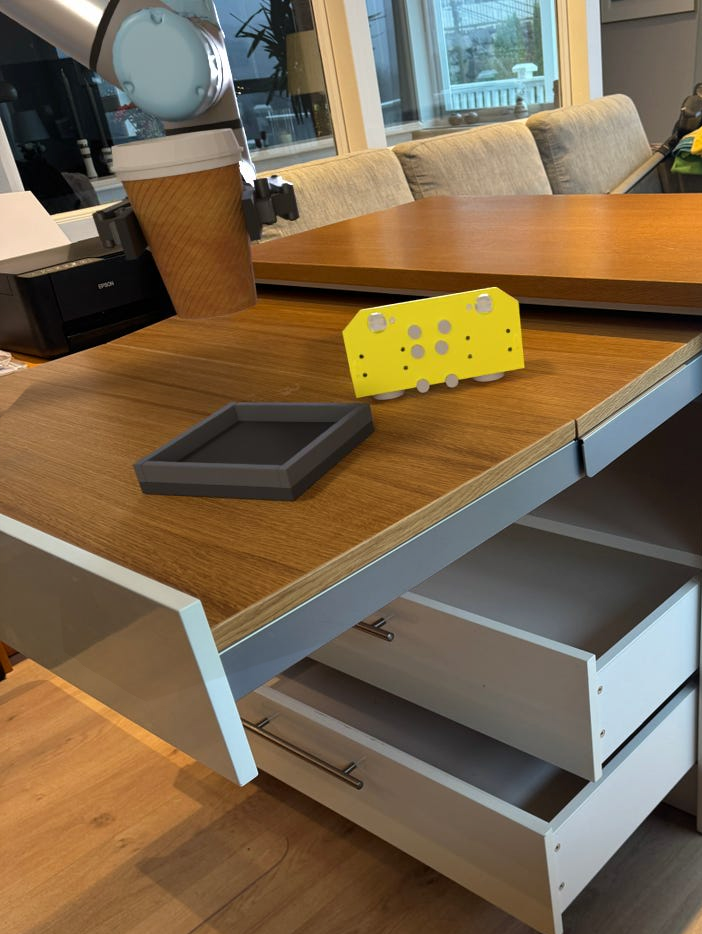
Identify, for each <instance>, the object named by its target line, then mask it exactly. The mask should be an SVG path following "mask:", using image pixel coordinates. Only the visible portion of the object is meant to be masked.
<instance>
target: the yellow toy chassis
mask: <svg viewBox="0 0 702 934" xmlns="http://www.w3.org/2000/svg"><path fill="white" fill-rule="evenodd" d="M520 315H521V314H520V304H519V300H517V299H515V298H514V297H512V296H511V295H509V294H508V293H506V292H505V291H504V290H502V289H500V288H499V287H497V286H493V287H486V288H481V289H476V290H470V291H464V292H458V293H451V294H446V295H445V294H444V295H439V296H435V297H428V298H422V299H416V300H415V299H414V300H410V301H404V302H398V303H393V304H387V305H380V306H374V307H369V308H363V309H359V310H358V312H357V313H356V314H355V316H354V317H353V318H352V319H351V320H350V321H349V323H348V324H347V325H346V326H345V328H344V329H343V330H342V331H341V332H342V338H343V342H344V347H345V353H346V357H347V363H348V367H349V373H350V377H351V382H352V384H353V390H354V394H355V398H356V399H359V398H364V397H371V396H372V398H373V399H374V400H379V401H383V400H392V399H395V398H399V397H401V396H403V395H405V392H406V390H408V389H414V388H416V390H417V391H418V392H420V393H422V394H423V393H427V392H428V391H429V389H430V386H432V385H436V384H442V383H445V384H446V386H447V387H448V388H455V387H457V386H458V384H459V380H465V379H469V378H472V380H473V381H476V382H492V381H497V380H500V379H502V378H504V377H505V372H509V371H515V370H521V369H525V357H524V347H523V337H522V336H523V335H522V326H521V316H520Z"/></svg>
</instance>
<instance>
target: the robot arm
mask: <svg viewBox="0 0 702 934" xmlns="http://www.w3.org/2000/svg"><path fill="white" fill-rule="evenodd" d="M0 12H1V13H2V14H4V15H6V16H7V17H8V18H10V19H12V20H13V21H15V22H17V23H18V24H19V25H20V26H22V27H24V28H26V29H27V30H28V31H30V32H32V33H33V34H35V35H36V36H38V37H40V38H41V39H42V40H44V41H46V42H47V43H49V44H50V45H51V46H53V47H55V48H56V49H58V50H59V51H61V52H63V53H65V55H67V56H69V57H71V58H72V59H74V60H75V61H77V62H78V63H80V64H81V65H83V67H86V68H87V69H89V70H90V71H92V72H94V73H95V74H96V75H97V76H99V77H100V78H101V79H103V80H104V81H105V82H107V83H109V84H110V85H112V86H113V87H115V88H117V89H118V90H119V91H121V92H122V93H124V94H125V95H126V96H127V97H128V99H130V100H131V102H132V103H133V104H134V105H135V106H136V107H137V108H139V110H141V111H143V112H145V113H146V114H148V115H149V116H152V117H153V118H155V119H157V120H159V121H161V122H162V125H163V128H164V134H165V137H166V136H172V135H179V134H186V133H193V132H200V131H209V130H218V129H232V131H233V133H234V136H235V138H236V140H237V142H238V145H239V147H243V151H242V152H241V157H242V161H240V167H241V174H242V183H243V191H244V193H243V196H242V198H241V203H242V207H243V211H244V215H245V219H246V224H247V228H248V232H249V238H250V242H253V241H261V240H262V236H263V230H264V225H266V226H273V225H275V224H276V223H278V218H277V217H280V218H281V219H283V220H285V221H289V222H296V221H297V220H298V219H300V217H301V216H300V212H299V207H298V202H297V196H296V194H295V193H296V192H295V188H294V183H293V182H289V181H286V180H284V179H283V177H282V175H278V174H271V176H269V177H268V176H266V177H260V178H258V175H257V171H256V167H255V163H253V162H252V158H251V154H250V149H249V144H248V141H247V136H246V133H245V128H244V124H243V120H242V118H241V115H240V114H241V113H240V110H239V106H238V105H239V104H238V101H237V96H236V90H235V86H234V80H233V75H232V72H231V66H230V62H229V58H228V54H227V49H226V44H225V34H224V30H223V29H222V25H221V24H220V20H219V16H218V13H217V9H216V6H215V2H214V0H0ZM91 215H92V219H93V222H94V225H95V228H96V231H97V235H98V238H99V241H100V244H101V246H102V247H101V248H103V249H107V250H111V249H114V248H116V247H117V246H121V247H122V251H123V253H124V256H125V260H126V261H132V260H138V259H139V258H140V256H141V255H143V253H144V252H145V250H146V249H147V248H149V246H148V243H147V241H146V239H145V236H144V234H143V232H142V229H141V227H140V225H139V222H138V219H137V217H136V215H135V213H134V210H133V208H132V206H131V204H130V201H129V199H128V196H127V195H126V196H125V197H124V198H122V199H121V201H119V202H117V203H115V204H112V205H109V206H107V207H105V208H102V209H99V210H98V209H97V210H95V212H93V213H91Z"/></svg>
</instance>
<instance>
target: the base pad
mask: <svg viewBox="0 0 702 934" xmlns="http://www.w3.org/2000/svg"><path fill="white" fill-rule="evenodd" d="M372 412H373V411H372V407H371V403H370V402H271V401H269V402H267V401H265V402H263V401H261V402H255V401H253V402H247V401H246V402H245V401H243V402H242V401H241V402H239V401H237V402H236V401H231V402H230V403H228V404H226V405H225V406H223V407H221V408H220V409H217V411H215V412H214V413H212V414H210V415H209V416H207V417H206V418H204V419H203V420H201V421H199V422H198V423H196V424H194V425H193V426H192V427H190V428H188V429H186V430H185V431H183V432H181V433H180V434H179V435H177V436H175V437H174V438H172V439H171V440H169V441H168V442H166V443H164V444H162V445H161V446H160V447H158V448H156V449H154V450H153V451H151V452H150V453H148V454H147V455H145V456H143V457H142V458H140V459H139V460H137V461H135V462H134V463H132V468H133V470H134V473H135V475H136V476H135V477H136V479H137V482H138V484H139V487H140V490H141V493H142V494H146V495H165V496H166V495H167V496H170V495H171V496H184V497H185V496H186V497H187V496H189V497H209V498H228V499H249V500H267V501H268V500H270V501H287V502H289V501H290V502H292V501H295V500H296V499H298V498H299V497H300V496H301V495H302V494H304V493H305V492H306V491H307V490H308V489H309V488H310V487H311V486H313V485H314V484H315V483H316V482H318V481H319V480H320V479H321V478H322V477H323V476H324V475H325V474H327V473H328V472H329V471H330V470H332V468H333V467H335V466H336V465H337V464H338V463H340V462H341V461H342V460H343V459H344V458H346V456H348V455H349V454H350V453H351V452H352V451H353V450H354V449H355V448H357V447H358V446H359V445H361V443H362V442H364V441H365V440H366V439H367V438H368V437H369V436H371V435H372V434H373V433H374V432H375V431H376V429H375V424H374V418H373V413H372Z"/></svg>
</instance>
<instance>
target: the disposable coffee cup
mask: <svg viewBox="0 0 702 934" xmlns="http://www.w3.org/2000/svg"><path fill="white" fill-rule="evenodd" d="M110 148H111V157H112V166H110V170H111V172H114V174H115V177H116V178H117V180H118V181H119V182H121V183H122V187H123V188H124V189H123V190H124V191H125V194H126V196H128V199H129V201H130V204H131V206H132V208H133V210H134V213H135V215H136V217H137V219H138V222H139V225H140V227H141V229H142V232H143V234H144V236H145V239H146V241H147V243H148V248H149V250H150V252H151V255H152V259H153V260H154V262H155V265H156V267H157V269H158V271H159V274H160V276H161V279H162V281H163V284H164V286H165V288H166V291H167V293H168V295H169V297H170V300H171V302H172V304H173V307H174V310H175V312H176V314H177V317H178V318H179V319H183V320H189V321H197V320H198V321H199V320H209V319H216V318H221V317H227V316H231V315H234V314H239V313H242V312H245V311H247V310H249V309H250V308H253V307H255V306H256V305H257V304H258V302H259V301H258V295H257V288H256V281H255V271H254V264H253V254H252V246H251V240H250V236H249V232H248V228H247V224H246V219H245V215H244V211H243V207H242V203H241V198H242V196H243V193H244V191H243V183H242V174H241V167H240V161H242V157H241V152H242V151H243V147H239V145H238V142H237V140H236V138H235V136H234V133H233V131H232V129H218V130H209V131H200V132H193V133H186V134H179V135H172V136H166V135H165V136H161V137H160V136H159V137H153V138H147V139H141V140H135V141H131V142H130V141H129V142H126V143H121V144H116V145H113V146H111V147H110Z"/></svg>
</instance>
